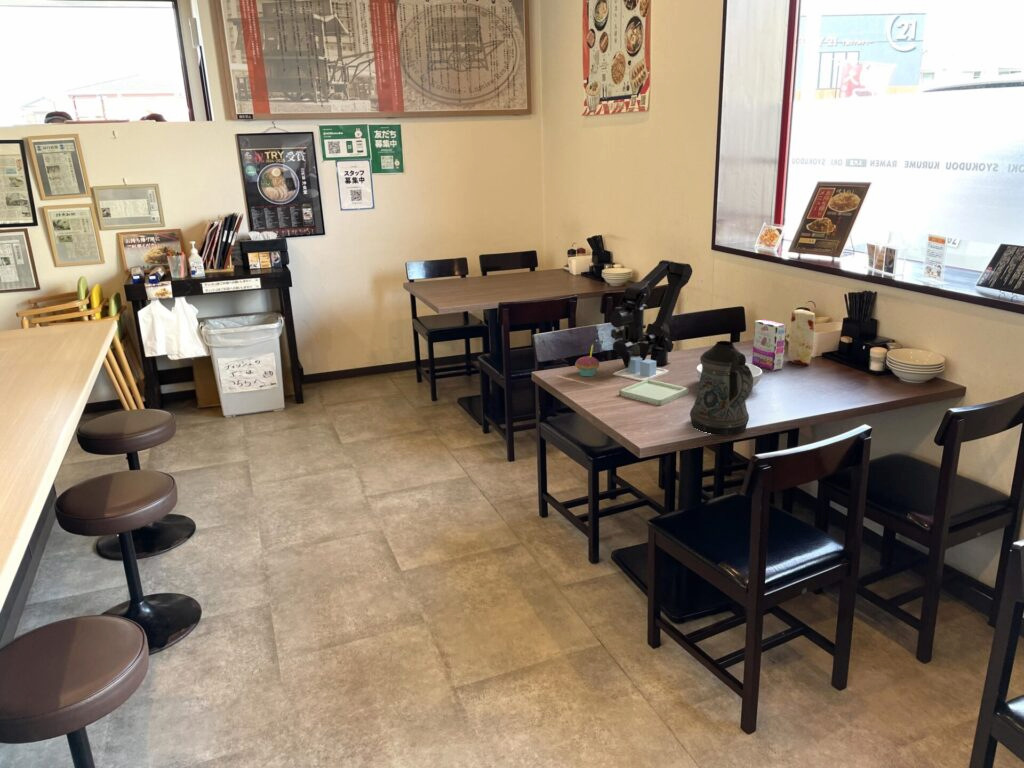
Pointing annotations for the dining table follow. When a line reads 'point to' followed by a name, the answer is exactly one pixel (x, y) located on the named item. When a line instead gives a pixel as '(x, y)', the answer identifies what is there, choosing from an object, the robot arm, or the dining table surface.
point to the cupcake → (587, 364)
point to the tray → (654, 392)
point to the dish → (637, 376)
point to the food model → (801, 336)
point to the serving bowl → (754, 369)
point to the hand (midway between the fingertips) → (634, 364)
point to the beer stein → (722, 391)
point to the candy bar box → (769, 344)
